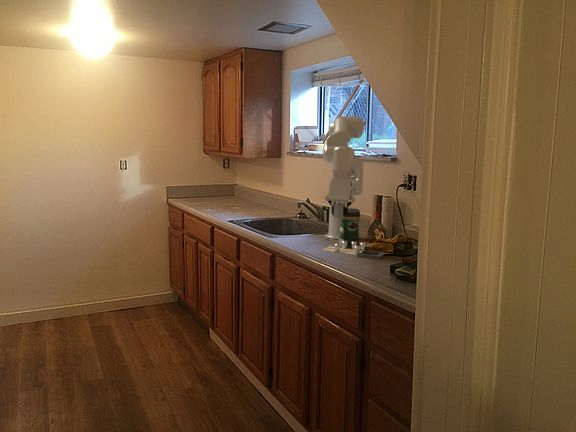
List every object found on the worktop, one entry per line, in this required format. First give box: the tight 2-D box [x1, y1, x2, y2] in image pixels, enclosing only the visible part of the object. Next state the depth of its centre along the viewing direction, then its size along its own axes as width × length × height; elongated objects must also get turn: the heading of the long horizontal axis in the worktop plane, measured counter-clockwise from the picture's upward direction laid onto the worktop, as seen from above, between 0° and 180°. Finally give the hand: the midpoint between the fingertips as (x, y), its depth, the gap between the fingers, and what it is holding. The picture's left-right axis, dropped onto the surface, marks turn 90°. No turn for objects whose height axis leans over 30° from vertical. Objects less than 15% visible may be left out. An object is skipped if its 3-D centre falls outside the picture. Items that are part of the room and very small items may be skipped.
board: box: [320, 246, 361, 256], centre depth 237 cm, size 12×18×1 cm, turn 67°
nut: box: [334, 204, 345, 218], centre depth 235 cm, size 4×5×6 cm
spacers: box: [334, 241, 366, 255], centre depth 236 cm, size 11×11×4 cm
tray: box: [357, 249, 384, 260], centre depth 226 cm, size 9×9×2 cm
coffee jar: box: [337, 207, 361, 249], centre depth 246 cm, size 10×8×19 cm
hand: (339, 215), depth 235 cm, fingers closed on nut, 4 cm apart
